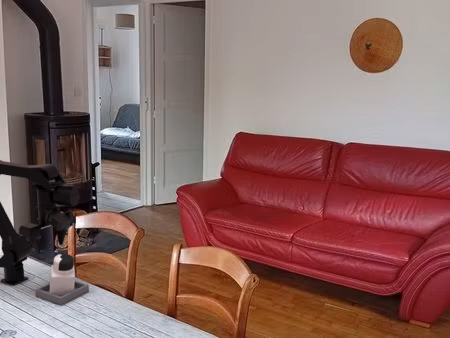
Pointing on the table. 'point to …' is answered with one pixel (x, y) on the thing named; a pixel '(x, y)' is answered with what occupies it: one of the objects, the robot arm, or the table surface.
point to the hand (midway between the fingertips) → (49, 249)
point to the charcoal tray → (61, 300)
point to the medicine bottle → (62, 275)
